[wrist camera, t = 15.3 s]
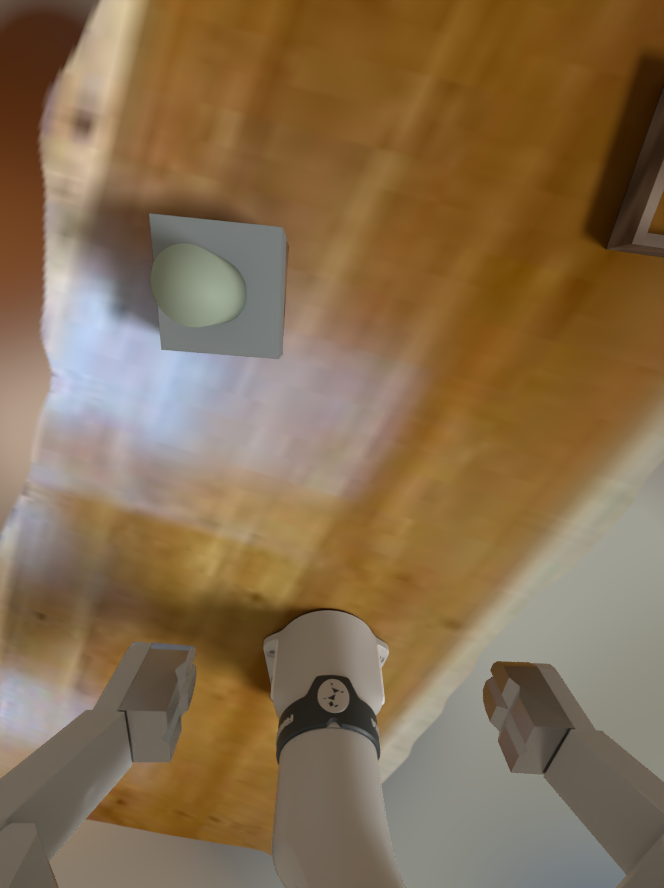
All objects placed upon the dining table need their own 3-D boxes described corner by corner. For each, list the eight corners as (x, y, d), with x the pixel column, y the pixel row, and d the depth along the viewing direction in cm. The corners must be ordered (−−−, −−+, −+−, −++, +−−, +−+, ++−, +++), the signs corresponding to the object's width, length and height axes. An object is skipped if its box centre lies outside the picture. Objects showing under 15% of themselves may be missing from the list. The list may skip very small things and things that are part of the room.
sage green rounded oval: (247, 325, 29) (229, 330, 24) (187, 321, 29) (154, 324, 23) (246, 259, 27) (226, 246, 22) (182, 253, 27) (145, 239, 22)
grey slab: (282, 354, 34) (278, 359, 30) (177, 345, 33) (161, 349, 30) (286, 236, 30) (282, 227, 27) (168, 224, 29) (148, 213, 26)
